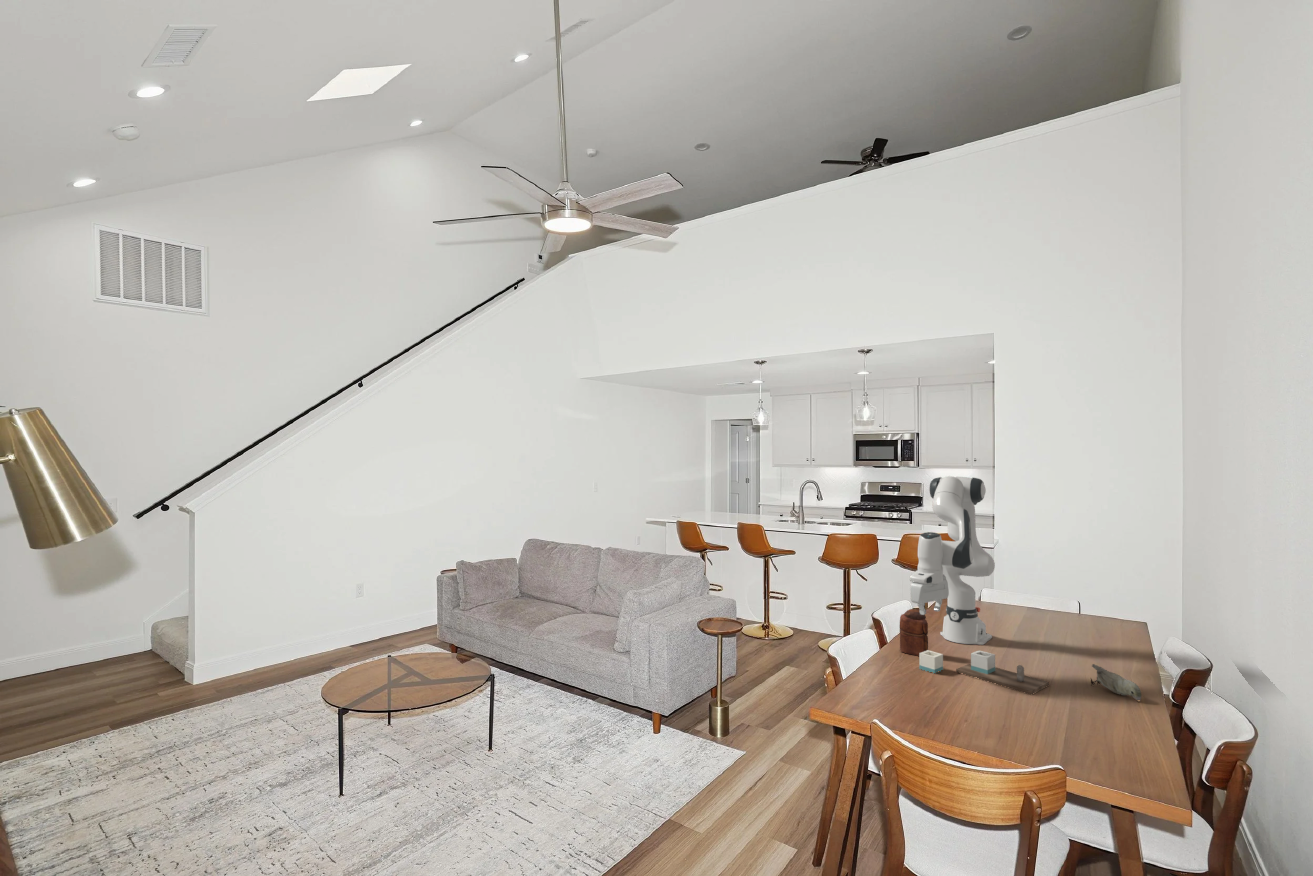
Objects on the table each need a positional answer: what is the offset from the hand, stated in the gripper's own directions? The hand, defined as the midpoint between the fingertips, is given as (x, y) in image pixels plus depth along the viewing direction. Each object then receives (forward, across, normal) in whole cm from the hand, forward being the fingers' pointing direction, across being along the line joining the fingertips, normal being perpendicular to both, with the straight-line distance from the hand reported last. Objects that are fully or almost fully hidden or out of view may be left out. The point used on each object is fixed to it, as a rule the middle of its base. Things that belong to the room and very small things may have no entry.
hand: (930, 612), depth 235 cm
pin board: (+21, -13, +20) cm, 32 cm away
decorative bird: (+21, -32, +49) cm, 62 cm away
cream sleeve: (+21, 0, 0) cm, 21 cm away
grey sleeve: (+20, -13, +13) cm, 27 cm away
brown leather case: (+21, -12, -14) cm, 28 cm away
